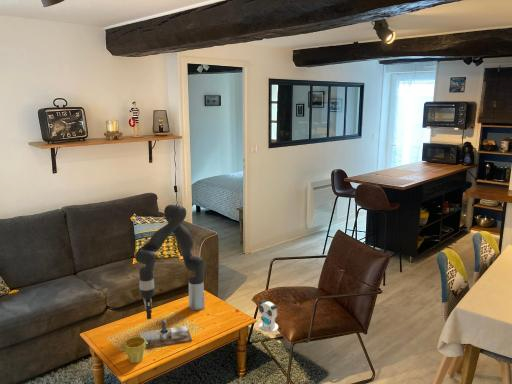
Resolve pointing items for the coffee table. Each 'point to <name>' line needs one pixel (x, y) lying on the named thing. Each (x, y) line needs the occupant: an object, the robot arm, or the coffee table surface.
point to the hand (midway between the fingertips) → (148, 314)
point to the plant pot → (135, 349)
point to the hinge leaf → (155, 335)
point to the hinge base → (174, 341)
